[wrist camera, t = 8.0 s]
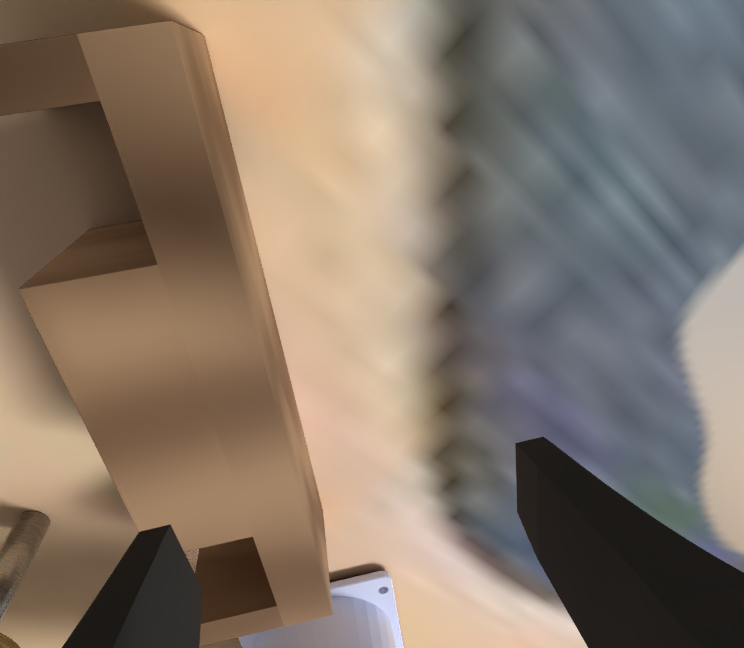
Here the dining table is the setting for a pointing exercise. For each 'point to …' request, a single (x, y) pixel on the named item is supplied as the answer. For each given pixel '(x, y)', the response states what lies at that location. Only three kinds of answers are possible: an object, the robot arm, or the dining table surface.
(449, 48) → the dining table surface
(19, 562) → the keyhole posts
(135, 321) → the wooden notched bar
